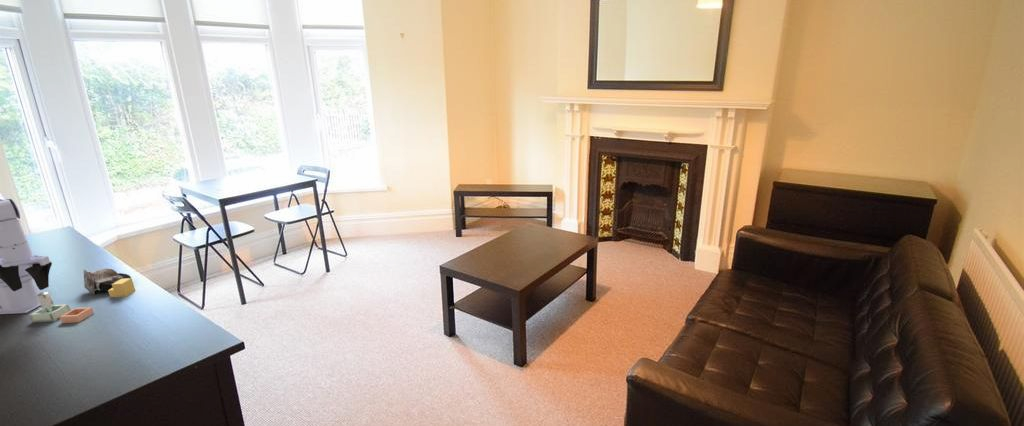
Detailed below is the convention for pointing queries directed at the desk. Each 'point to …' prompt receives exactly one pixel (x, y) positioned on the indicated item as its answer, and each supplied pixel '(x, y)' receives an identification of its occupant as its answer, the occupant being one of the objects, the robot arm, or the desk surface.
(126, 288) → the chock
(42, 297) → the stop pin
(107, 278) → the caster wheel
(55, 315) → the tray
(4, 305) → the robot arm
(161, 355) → the desk surface
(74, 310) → the socket block
